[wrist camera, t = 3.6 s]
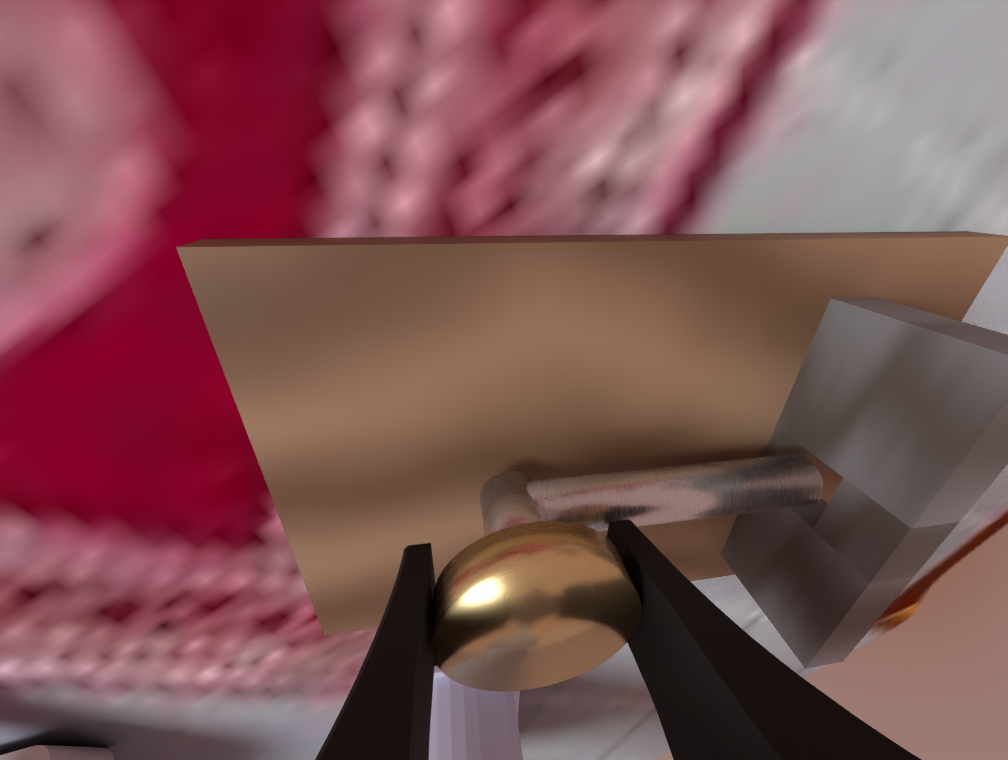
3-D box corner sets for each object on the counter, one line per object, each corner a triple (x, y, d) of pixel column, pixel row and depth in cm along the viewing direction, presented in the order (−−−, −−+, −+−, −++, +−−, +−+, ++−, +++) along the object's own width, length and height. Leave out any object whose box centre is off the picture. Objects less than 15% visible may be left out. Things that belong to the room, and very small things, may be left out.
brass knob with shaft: (757, 509, 16) (870, 628, 12) (439, 549, 14) (440, 706, 10) (805, 407, 13) (967, 511, 9) (428, 439, 12) (423, 585, 7)
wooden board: (793, 543, 21) (912, 667, 16) (331, 608, 17) (286, 792, 12) (967, 231, 13) (1314, 270, 8) (204, 239, 10) (-61, 316, 5)
